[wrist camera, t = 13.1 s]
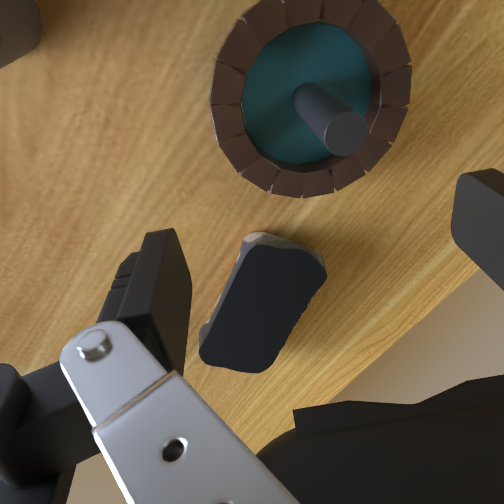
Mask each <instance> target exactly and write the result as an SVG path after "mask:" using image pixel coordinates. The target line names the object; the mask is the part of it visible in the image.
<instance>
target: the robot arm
mask: <svg viewBox="0 0 504 504" xmlns="http://www.w3.org/2000/svg"><path fill="white" fill-rule="evenodd" d="M451 233H452V236H453V239H454V241H455V243H456V244H457V245H458V247H459V248H461V249H462V250H463V251H464V252H465V253H466V254H467V255H468V256H469V257H470V258H471V259H472V260H473V261H474V262H475V263H476V264H477V265H478V266H479V267H480V268H481V269H482V270H483V271H484V272H485V273H486V274H487V275H488V276H489V277H490V278H491V279H492V280H493V281H494V282H496V284H497V285H498V286H499V287H501V289H503V290H504V174H503V173H502V172H500V171H498V170H496V169H494V168H490V169H485V170H479V171H474V172H469V173H464V174H462V175H460V177H459V178H458V181H457V185H456V191H455V199H454V206H453V213H452V220H451ZM191 299H192V281H191V276H190V272H189V269H188V266H187V263H186V260H185V257H184V254H183V251H182V248H181V245H180V242H179V239H178V236H177V234H176V232H175V230H174V229H173V228H170V229H164V230H159V231H154V232H148V233H146V235H145V238H144V240H143V243H142V246H141V249H140V252H134V253H131V254H130V255H129V256H128V257H127V258H126V259H125V260H124V261H123V262H122V263H121V264H120V266H119V269H118V271H117V274H116V276H115V280H114V281H113V283H112V286H111V290H110V291H109V293H108V295H107V298H106V300H105V303H104V305H103V308H102V310H101V312H100V315H99V317H98V320H97V322H96V324H94V325H92V326H89V327H87V328H85V329H84V330H82V331H81V332H79V333H78V334H76V335H75V336H74V337H73V338H72V339H71V340H70V341H69V342H68V343H67V344H66V345H65V347H64V349H63V350H62V353H61V355H60V361H58V362H56V363H53V364H51V365H48V366H46V367H44V368H41V369H39V370H37V371H34V372H32V373H29V374H27V375H25V376H22V377H21V376H20V374H19V373H18V372H17V371H16V369H15V368H14V367H13V366H11V365H9V364H5V363H0V504H66V502H67V498H68V494H69V491H70V487H71V483H72V480H73V476H74V472H75V468H76V464H78V463H80V462H82V461H84V460H86V459H88V458H90V457H92V456H94V455H96V454H98V453H100V452H102V454H103V456H104V458H105V459H106V461H107V463H108V465H109V467H110V469H111V471H112V473H113V475H114V477H115V479H116V480H117V482H118V484H119V486H120V488H121V490H122V492H123V494H124V496H125V498H126V500H127V502H128V504H504V375H498V376H492V377H487V378H480V379H474V380H469V381H465V382H463V383H461V384H459V385H457V386H455V387H452V388H450V389H448V390H446V391H444V392H442V393H439V394H437V395H435V396H433V397H430V398H428V399H426V400H424V401H422V402H420V403H416V404H394V403H379V402H363V401H343V402H337V403H331V404H325V405H319V406H313V407H307V408H301V409H295V410H293V416H294V421H295V427H296V428H294V429H292V430H289V431H287V432H285V433H283V434H282V435H280V436H279V437H277V438H275V439H274V440H272V441H271V442H270V443H269V444H267V445H266V446H265V447H264V448H262V449H261V450H260V451H259V452H258V453H257V454H256V455H255V454H254V453H253V452H252V451H251V450H250V449H249V448H248V447H247V446H246V445H245V444H244V443H243V442H242V440H241V439H240V438H239V437H238V436H237V435H236V434H235V433H234V432H233V431H232V430H231V429H230V428H229V426H228V425H227V424H226V423H225V422H224V421H223V420H222V419H221V418H220V417H219V416H218V415H217V414H216V412H215V411H214V410H213V409H212V408H211V407H210V406H209V405H208V404H207V403H206V402H205V401H204V400H203V399H202V397H201V396H200V395H199V394H198V393H197V392H196V391H195V390H194V389H193V388H192V387H191V386H190V385H189V383H188V382H187V381H186V380H185V379H184V378H183V372H184V363H185V354H186V345H187V336H188V327H189V318H190V309H191Z"/></svg>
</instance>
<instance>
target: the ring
mask: <svg viewBox="0 0 504 504" xmlns="http://www.w3.org/2000/svg"><path fill="white" fill-rule="evenodd" d="M241 18H242V20H243V22H244V23H243V22H242V21H241V20H239V19H237V20H236V22H235V23H234V25H233V27H232V29H231V30H230V32H229V34H228V36H227V37H226V39H225V41H224V43H223V44H222V46H221V48H220V49H219V51H218V53H217V58H219V59H217V58H216V59H215V64H214V70H213V77H212V84H211V90H210V98H209V102H210V111H211V116H212V120H213V125H214V129H215V134H216V138H217V141H218V142H219V146H220V148H221V149H222V151H223V152H224V154H225V155H226V156H227V158H228V159H229V161H230V162H231V164H232V165H233V167H234V168H235V169H236V171H237V172H238V173H239V172H240V173H241V176H243V177H244V178H246V179H247V180H249V181H250V182H252V183H254V184H255V185H257V186H258V187H260V188H261V189H263V190H265V191H268V189H269V191H270V193H272V194H278V195H284V196H289V197H295V198H300V196H301V195H302V197H303V198H308V197H313V196H319V195H324V194H329V193H334V188H335V189H336V190H337V191H339V190H340V189H342V188H344V187H345V186H347V185H349V184H350V183H352V182H354V181H356V180H357V179H359V178H361V177H362V176H364V175H365V172H364V170H363V169H365V170H366V171H367V172H369V171H370V170H371V169H372V168H373V167H374V166H375V164H376V163H377V162H378V161H379V160H380V159H381V158H382V156H383V155H384V154H385V153H386V152H387V151H388V150H389V148H390V147H391V146H392V145H391V144H389V143H388V142H387V141H390V142H394V141H395V139H396V137H397V134H398V132H399V130H400V127H401V125H402V122H403V120H404V118H405V115H406V113H407V111H408V107H405V106H403V105H407V104H409V103H410V88H411V72H412V66H411V65H407V64H408V63H410V62H411V58H410V55H409V52H408V49H407V46H406V43H405V40H404V37H403V34H402V32H401V29H400V26H399V25H398V24H395V23H396V21H397V20H396V19H395V18H394V17H393V16H392V15H391V14H390V13H389V12H388V11H387V10H386V9H385V8H384V6H383V5H382V4H381V3H380V2H379V1H378V0H260V1H259V2H257V3H256V4H255V5H253V6H252V7H251V8H249V9H248V10H247V11H245V12H244V13H243V14H241ZM314 22H320V23H323V24H327V25H330V26H334V27H338V28H340V29H341V30H342V31H344V32H345V33H346V34H347V35H348V36H349V37H350V38H351V39H352V40H353V41H354V42H355V43H356V44H358V45H359V46H360V48H361V50H362V53H363V55H364V58H365V60H366V63H367V65H368V68H369V70H370V102H369V105H368V107H367V110H366V113H365V116H364V119H365V120H366V122H367V125H368V135H367V139H366V141H365V143H364V145H363V146H362V147H361V148H360V149H359V150H358V151H357V152H355V153H353V154H351V155H348V156H337V155H335V154H333V153H332V154H331V155H329V156H328V157H326V158H324V159H323V160H317V161H312V162H307V163H302V164H296V163H291V162H286V161H281V160H276V159H275V158H273V157H272V156H271V155H269V154H268V153H266V152H265V151H263V150H262V149H260V148H259V147H257V145H256V144H255V142H254V140H253V139H252V137H251V136H250V134H249V132H248V131H247V129H246V128H245V126H244V120H243V114H242V109H241V100H242V95H243V90H244V85H245V80H246V75H247V73H248V71H249V69H250V68H251V66H252V65H253V63H254V61H255V60H256V58H257V57H258V55H259V53H260V52H261V50H262V49H263V47H264V46H265V45H266V44H268V43H269V42H271V41H272V40H273V39H275V38H276V37H277V36H279V35H280V34H282V33H283V32H284V31H286V30H287V29H288V28H290V27H294V26H299V25H304V24H309V23H314Z"/></svg>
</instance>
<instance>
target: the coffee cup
mask: <svg viewBox="0 0 504 504" xmlns="http://www.w3.org/2000/svg"><path fill="white" fill-rule="evenodd" d="M41 27H42V24H41V17H40V11H39V8H38V6H37V4H36V1H35V0H0V69H1V68H2V67H4V66H6V65H8V64H9V63H11V62H13V61H15V60H17V59H18V58H20V57H22V56H24V55H25V54H27V53H28V52H30V51H31V50H32V49H34V47H35V46H36V44H37V42H38V41H39V39H40V33H41Z"/></svg>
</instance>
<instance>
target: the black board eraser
mask: <svg viewBox="0 0 504 504" xmlns="http://www.w3.org/2000/svg"><path fill="white" fill-rule="evenodd" d="M326 279H327V273H326V268H325V262H324V259H323V257H322V255H321V254H319V253H318V252H317V251H315V250H313V249H311V248H309V247H307V246H305V245H303V244H301V243H298V242H295V241H291V240H288V239H285V238H281V237H278V236H276V235H273V234H270V233H266V232H253V233H251V234H249V235H247V236H246V237H245V238H244V239H243V242H242V245H241V249H240V253H239V255H238V258H237V261H236V263H235V265H234V268H233V270H232V272H231V274H230V276H229V279H228V281H227V283H226V285H225V287H224V289H223V292H222V294H221V295H220V297H219V298H218V301H217V303H216V305H215V307H214V310H213V313H212V316H211V317H210V319H209V320H208V321H207V322H205V323H204V325H203V326H202V328H201V330H200V332H199V344H200V345H199V355H200V357H201V359H202V361H204V362H205V363H206V364H208V365H211V366H217V367H224V368H228V369H231V370H235V371H239V372H246V373H260V372H263V371H264V370H266V369H268V368H269V367H270V366H271V365H272V364H273V363H274V361H275V359H276V358H277V356H278V354H279V351H280V350H281V349H282V347H283V346H284V344H285V342H286V340H287V338H288V336H289V335H290V333H291V332H292V329H293V327H294V326H295V325H296V323H297V322H298V320H299V318H300V317H301V315H302V313H303V312H304V311H305V310H306V308H307V305H308V303H309V302H310V300H311V298H312V297H313V296H314V295H315V293H316V292H317V290H318V289H319V288H320V287H321V286H322V285H323V284H324V282H325V281H326Z"/></svg>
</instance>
